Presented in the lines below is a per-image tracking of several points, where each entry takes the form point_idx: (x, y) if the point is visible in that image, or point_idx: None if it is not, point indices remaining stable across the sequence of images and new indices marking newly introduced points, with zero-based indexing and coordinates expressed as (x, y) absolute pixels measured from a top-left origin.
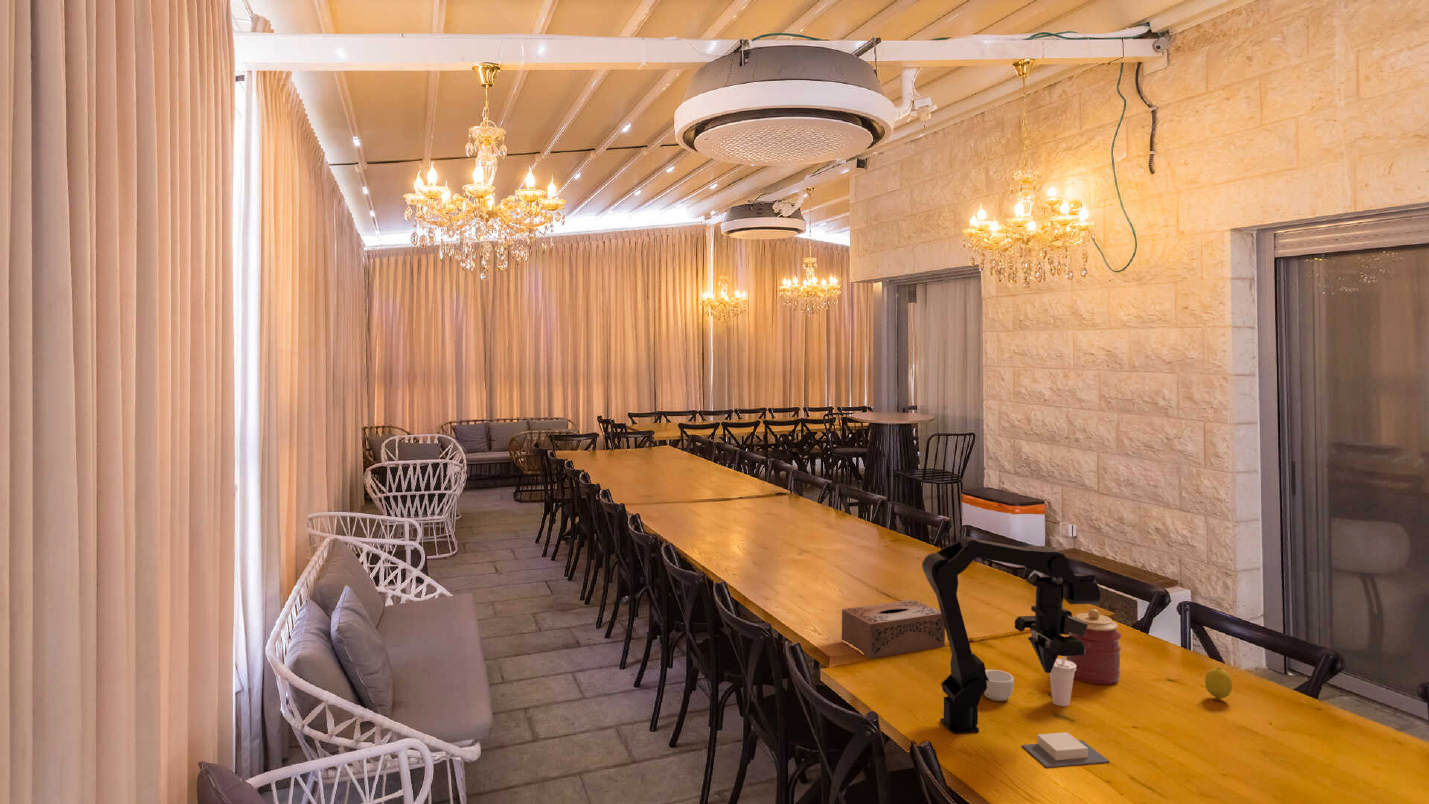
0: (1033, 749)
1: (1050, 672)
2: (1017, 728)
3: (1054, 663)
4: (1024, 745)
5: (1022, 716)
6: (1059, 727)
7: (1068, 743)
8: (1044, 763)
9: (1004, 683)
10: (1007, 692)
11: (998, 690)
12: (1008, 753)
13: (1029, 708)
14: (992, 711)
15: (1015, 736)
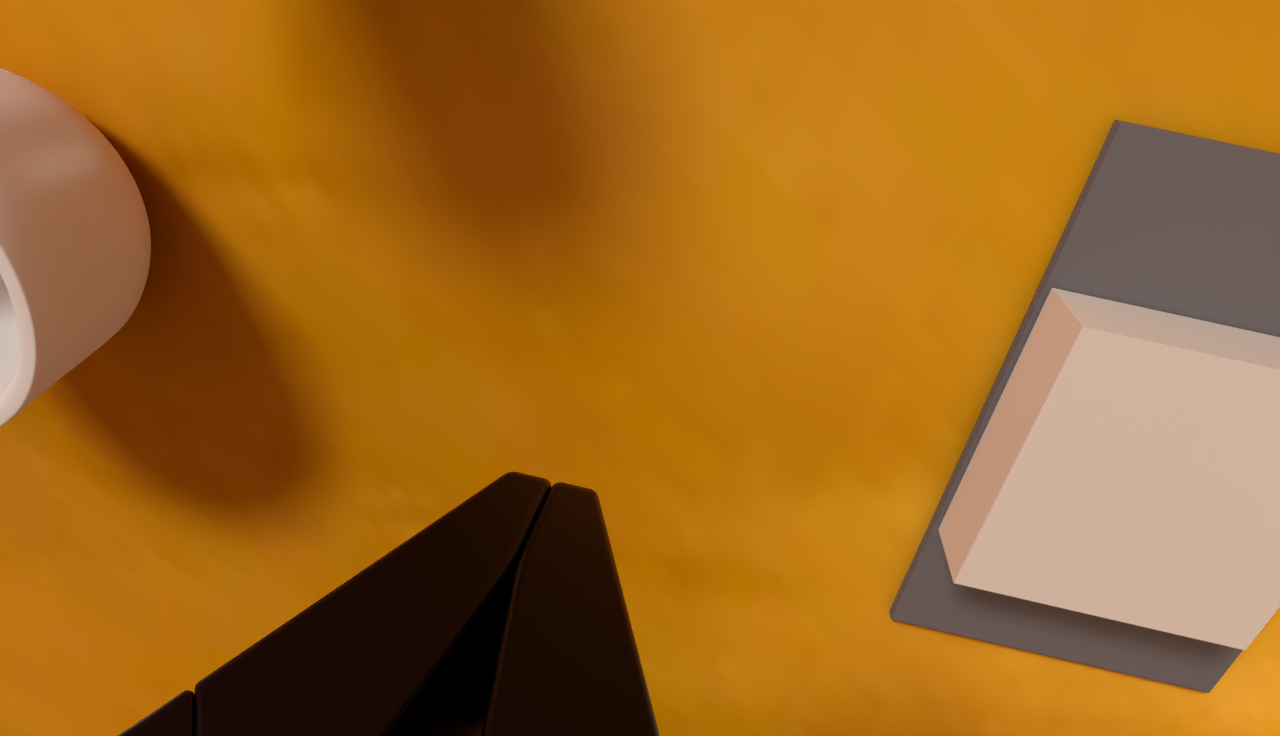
0: (986, 605)
1: (594, 497)
2: (644, 451)
3: (644, 684)
4: (907, 614)
5: (461, 259)
6: (770, 94)
7: (1240, 489)
8: (1173, 675)
9: (46, 316)
10: (111, 229)
11: (101, 329)
12: (917, 727)
13: (313, 61)
14: (327, 415)
15: (747, 548)
